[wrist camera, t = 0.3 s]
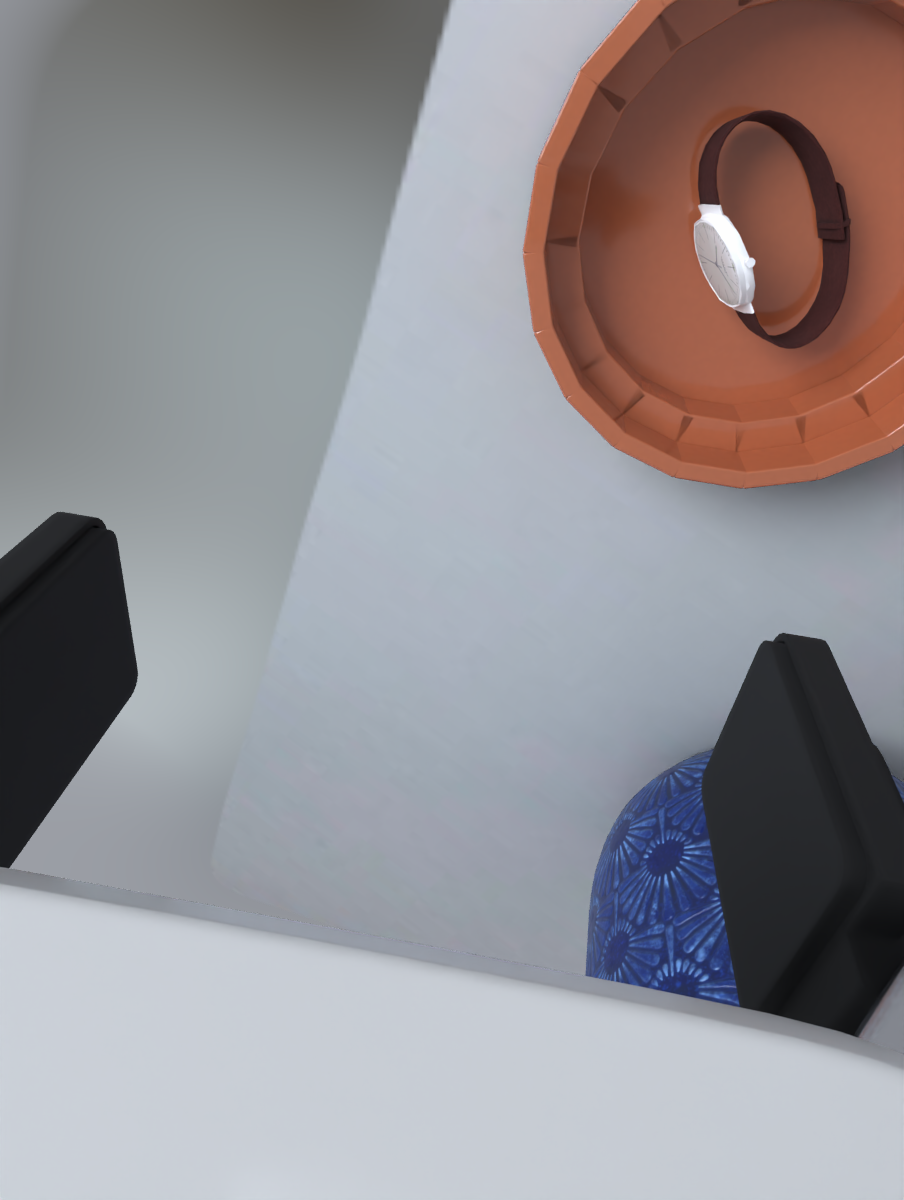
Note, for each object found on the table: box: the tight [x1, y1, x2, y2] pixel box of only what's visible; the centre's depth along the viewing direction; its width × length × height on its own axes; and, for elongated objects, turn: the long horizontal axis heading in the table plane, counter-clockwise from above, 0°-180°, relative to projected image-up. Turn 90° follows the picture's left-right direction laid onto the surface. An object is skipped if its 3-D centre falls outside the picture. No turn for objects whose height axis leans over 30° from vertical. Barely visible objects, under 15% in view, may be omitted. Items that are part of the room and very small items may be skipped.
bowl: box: [523, 0, 904, 489], centre depth 26 cm, size 16×16×4 cm
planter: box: [586, 749, 904, 1007], centre depth 37 cm, size 21×21×19 cm
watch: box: [694, 110, 851, 349], centre depth 26 cm, size 8×5×4 cm, turn 28°
